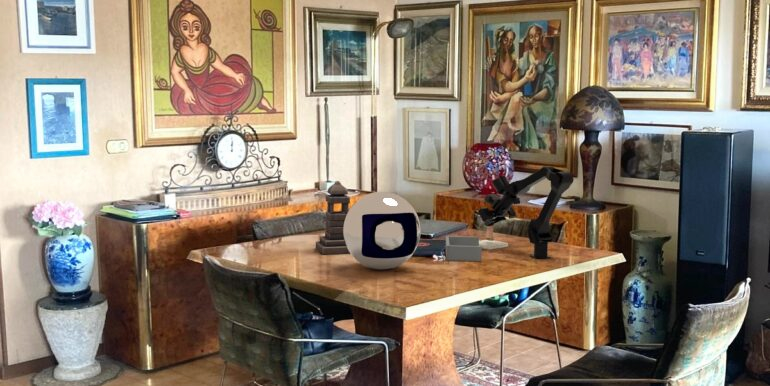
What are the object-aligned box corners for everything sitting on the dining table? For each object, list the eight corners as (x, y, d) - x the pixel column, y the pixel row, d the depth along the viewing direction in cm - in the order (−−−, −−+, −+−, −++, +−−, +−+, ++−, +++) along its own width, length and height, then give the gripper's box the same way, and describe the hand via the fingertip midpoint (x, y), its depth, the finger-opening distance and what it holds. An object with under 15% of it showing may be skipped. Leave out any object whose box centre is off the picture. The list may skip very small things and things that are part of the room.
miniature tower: (322, 255, 371) (322, 183, 367) (315, 248, 385) (315, 179, 382) (360, 253, 376) (360, 182, 372) (351, 247, 390) (352, 178, 386)
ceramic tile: (508, 246, 395) (508, 243, 395) (488, 249, 388) (488, 246, 388) (488, 242, 405) (488, 239, 404) (469, 245, 397) (469, 242, 397)
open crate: (478, 250, 385) (478, 236, 385) (481, 261, 362) (481, 246, 362) (445, 249, 386) (445, 236, 385) (446, 260, 363) (446, 245, 362)
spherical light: (353, 279, 327) (354, 197, 324) (335, 263, 355) (335, 188, 352) (430, 275, 336) (431, 195, 332) (406, 259, 364) (407, 186, 360)
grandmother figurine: (498, 240, 394) (499, 212, 392) (492, 241, 391) (492, 212, 390) (486, 238, 400) (487, 210, 399) (480, 239, 398) (480, 210, 396)
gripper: (511, 187, 396) (493, 209, 405) (481, 189, 384) (463, 212, 394) (524, 206, 390) (505, 228, 400) (493, 210, 379) (475, 232, 389)
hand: (487, 224), depth 396 cm, fingers closed on grandmother figurine, 2 cm apart
